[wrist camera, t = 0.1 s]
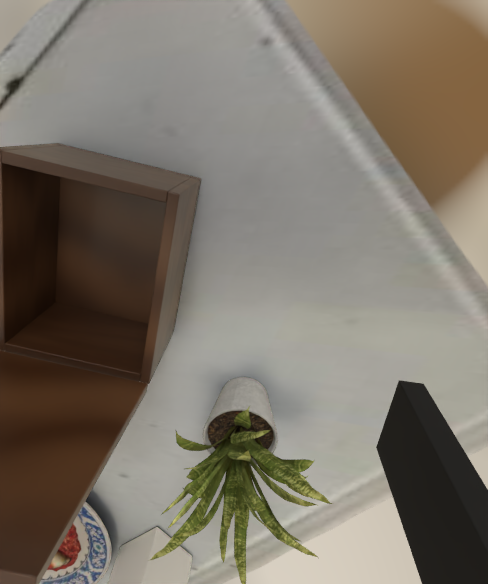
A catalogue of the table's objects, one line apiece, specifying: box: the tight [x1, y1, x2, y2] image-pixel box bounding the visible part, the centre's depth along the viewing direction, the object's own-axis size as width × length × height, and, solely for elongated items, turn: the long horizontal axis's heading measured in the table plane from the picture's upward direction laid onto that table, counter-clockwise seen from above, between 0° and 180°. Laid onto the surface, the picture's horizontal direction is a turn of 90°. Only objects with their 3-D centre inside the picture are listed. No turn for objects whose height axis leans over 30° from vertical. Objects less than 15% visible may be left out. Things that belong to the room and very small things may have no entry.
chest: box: [0, 143, 201, 384], centre depth 32 cm, size 16×13×9 cm
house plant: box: [148, 377, 332, 584], centre depth 35 cm, size 14×14×16 cm
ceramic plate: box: [39, 502, 112, 584], centre depth 51 cm, size 26×26×3 cm
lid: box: [0, 350, 148, 584], centre depth 23 cm, size 16×13×5 cm
